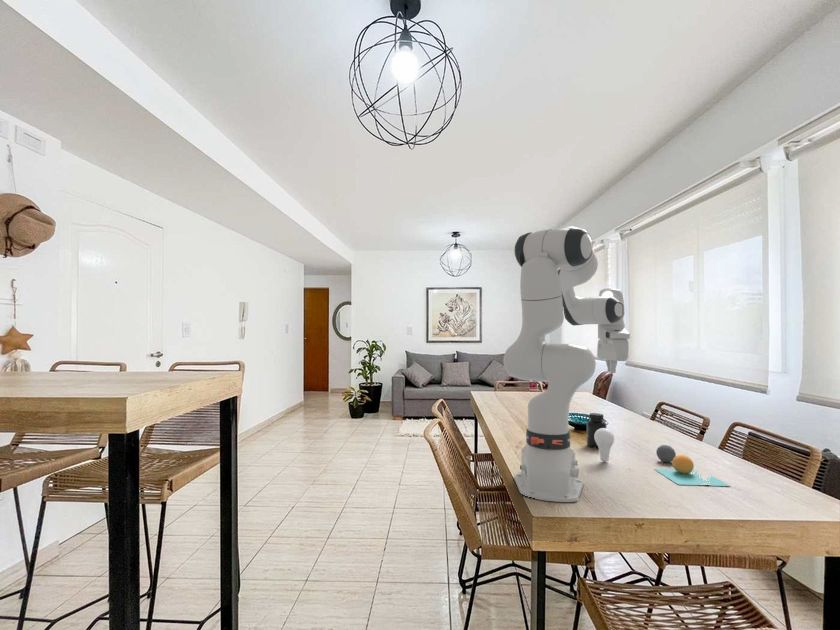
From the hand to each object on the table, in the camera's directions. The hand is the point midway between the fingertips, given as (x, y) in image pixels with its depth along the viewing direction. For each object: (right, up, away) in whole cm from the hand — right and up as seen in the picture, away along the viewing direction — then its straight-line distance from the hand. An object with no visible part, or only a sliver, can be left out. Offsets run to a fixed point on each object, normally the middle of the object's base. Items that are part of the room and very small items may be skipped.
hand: (611, 372), depth 151 cm
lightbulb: (-8, -28, -13) cm, 32 cm away
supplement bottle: (-2, -29, +8) cm, 30 cm away
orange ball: (+11, -25, -23) cm, 36 cm away
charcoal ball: (+13, -25, -12) cm, 30 cm away
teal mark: (+11, -27, -27) cm, 40 cm away
